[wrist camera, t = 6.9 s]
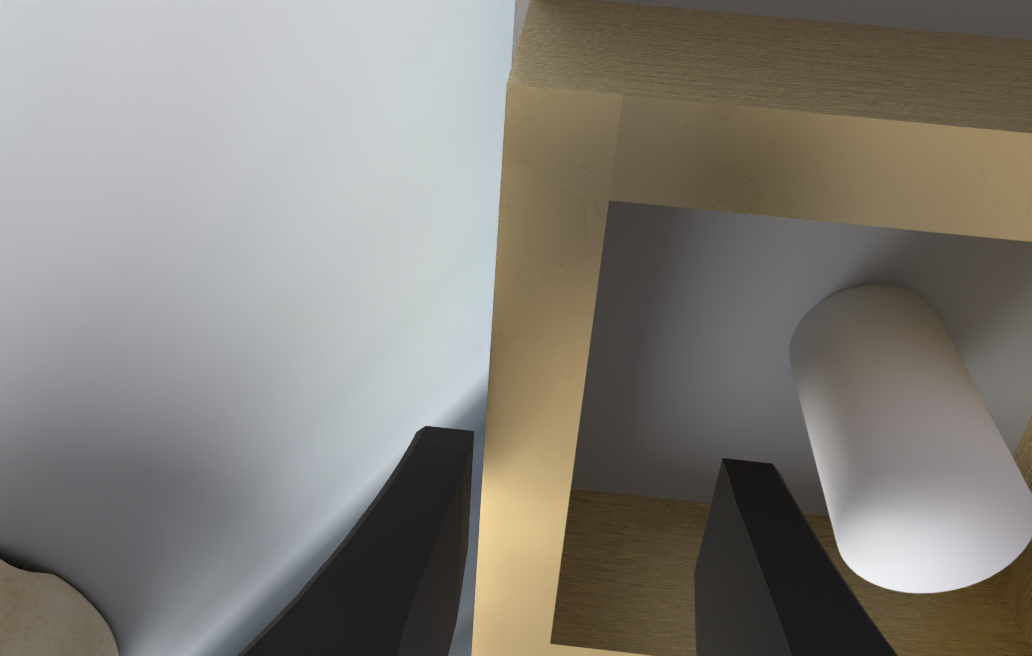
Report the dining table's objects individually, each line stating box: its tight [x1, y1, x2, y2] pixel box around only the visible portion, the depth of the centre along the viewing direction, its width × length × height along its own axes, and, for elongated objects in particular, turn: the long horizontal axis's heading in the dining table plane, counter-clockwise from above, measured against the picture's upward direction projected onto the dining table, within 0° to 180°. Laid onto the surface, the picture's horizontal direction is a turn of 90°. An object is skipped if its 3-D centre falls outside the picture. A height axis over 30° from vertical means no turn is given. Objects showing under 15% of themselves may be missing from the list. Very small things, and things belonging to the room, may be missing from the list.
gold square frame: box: [472, 0, 1032, 656], centre depth 14 cm, size 10×10×4 cm
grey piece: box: [511, 0, 1032, 593], centre depth 14 cm, size 14×12×6 cm
